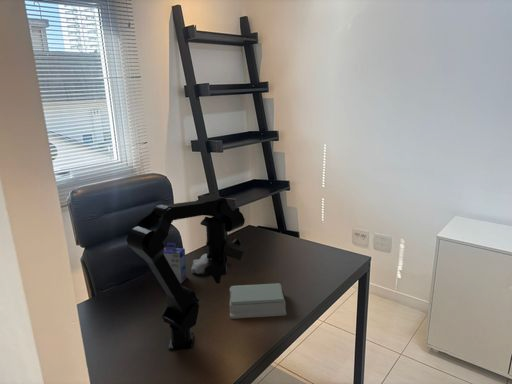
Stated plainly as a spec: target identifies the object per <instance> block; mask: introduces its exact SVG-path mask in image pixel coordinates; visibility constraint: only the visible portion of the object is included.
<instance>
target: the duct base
mask: <svg viewBox="0 0 512 384" xmlns="http://www.w3.org/2000/svg"><path fill="white" fill-rule="evenodd" d="M281 289H282V290H283V287H282V286H281ZM280 316H281V317H282V316H287V310H286V299H285V298H284V302H271V303H253V304H236V305H231V287H229V319H246V318H251V319H252V318H265V317H280Z"/></svg>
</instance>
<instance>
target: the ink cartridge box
mask: <svg viewBox="0 0 512 384" xmlns="http://www.w3.org/2000/svg"><path fill="white" fill-rule="evenodd" d="M176 246H177V244H176V242H166V247H164V256H165V257H166V259H167V261H168V263H169V264H170V266H171V268H172V270H173V271H174V273H175V275H176V277H177V278H178V280H179V282H180V284H182V283H183V282H184V281H185V280H186V279H187V278H188V271H187V261H186V249H185V248H182V247H181V248H179V247H176Z"/></svg>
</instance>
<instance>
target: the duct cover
mask: <svg viewBox="0 0 512 384" xmlns="http://www.w3.org/2000/svg"><path fill="white" fill-rule="evenodd" d="M281 287H282V285H281V283H277V282H276V283H263V284H262V283H261V284H244V285H243V284H241V285H230V288H231V305H236V304H253V303H271V302H284V299H285V298H284V293H283V288H282V289H281Z"/></svg>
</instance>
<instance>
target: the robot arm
mask: <svg viewBox="0 0 512 384" xmlns="http://www.w3.org/2000/svg"><path fill="white" fill-rule="evenodd" d="M200 216H205V217H204V218H203V219H202V220H201V221H200V225H201V226H204V227H206V228H205V229H206V242H205V245H206V248H207V249H206V250H207V253H206V254H207V258H208V262H207V263H206V264H205V272H204V276H207V277H209V276H211V277H212V278H213V280H214V281H215V283H216V284H220V283H221V279H222V276H225V275H226V276H227V272H228V271H227V270H228V269H227V268H228V263H227V262H228V257H229V258H232V259H236V260H238V261H242V260H243V257H244V254H245V251H246V249H245V246H244V244H242V242H241V239H240V238H237V237H236V238H235V239H233V241H232V240H231V241H228V237H227V234H226V233H230V232H233V231H235V230H238V229H239V228H241V227H243V226H244V225H245V221H246V219H245V217H244V215H243V213H242V212H241V211H240V207H237V206H234V207H233V206H232V207H231V206H230V205H229V203H228V200H227V198H226V197H222V196H218V195H217V196H216V195H213V194H206V195H203V196H200V197H199V198H198V199H197V200H196V199H195V200H193V201H191V200H190V201H186V202H177V203H169V204H163V203H162V204H158V205H156V206H155V207H154V208H153V209H152V211H151V212H149V213H148V214H146V215H144V217H142V218H141V219H140V220H139V221H138V222H137V223H136V224H135V225H134V227H133V228H131V229H130V231H128V234H127V238H126V243H127V245H128V246H129V248H130V249H132V251H133V252H134V253H135V254H137V255H138V256H139V257H141V258H142V259H143V260H144V261H145V262H146V264H147V266H148V267H149V269H150V270H151V271H152V273H153V274H154V277H155V278H156V279H157V281H158V283H159V285H160V286H161V288H162V289H163V291H164V293H165V294H166V304H167V307H166V309H165V310H164V313H163V314H162V316H161V319H162V321H163V323H166V324H168V325H169V331H170V339H169V344H168V350H171V351H172V350H183V349H184V350H185V349H192V348H193V342H194V335H195V334H194V332H192V331H191V328H193V327H194V326H196V324H197V320H198V315H199V310H200V304H199V302H200V299H198V298H197V295H196V293H195V291H193V290H192V289H190V288H187V287H185V286H183V285H182V283H180V282H179V280H178V278H177V277H176V275H175V273H174V271H173V270H172V268H171V266H170V264H169V263H168V261H167V259H166V257H165V256H164V248H165V244H164V241H165V240H166V238H167V237H168V235H169V233H170V228H171V224H172V223H173V222H174V221H178V220H183V219H189V218H194V217H195V218H196V217H200ZM157 224H158V227H156V229H155V230H153V229H151V228H152V227H153V226H155V225H157Z"/></svg>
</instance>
